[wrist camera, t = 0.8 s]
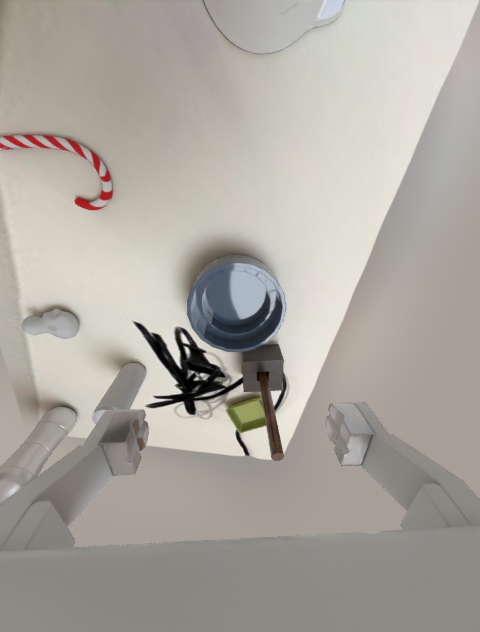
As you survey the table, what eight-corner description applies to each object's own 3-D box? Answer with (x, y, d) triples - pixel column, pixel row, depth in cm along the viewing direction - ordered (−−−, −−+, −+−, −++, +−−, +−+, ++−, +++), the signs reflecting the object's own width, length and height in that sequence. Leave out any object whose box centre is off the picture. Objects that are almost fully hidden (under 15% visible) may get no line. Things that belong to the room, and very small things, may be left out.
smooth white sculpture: (85, 310, 42) (83, 336, 42) (37, 303, 41) (36, 331, 41) (70, 313, 37) (69, 343, 38) (17, 306, 36) (16, 337, 37)
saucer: (261, 391, 51) (262, 398, 49) (272, 416, 55) (274, 423, 53) (225, 402, 52) (225, 410, 50) (239, 426, 56) (239, 433, 54)
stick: (258, 355, 46) (275, 452, 28) (265, 358, 47) (286, 454, 29) (254, 361, 47) (269, 459, 29) (261, 364, 47) (280, 462, 29)
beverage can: (144, 381, 48) (119, 432, 38) (121, 375, 47) (89, 425, 37) (149, 365, 46) (125, 413, 36) (125, 358, 45) (93, 406, 35)
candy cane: (-21, 109, 27) (111, 154, 29) (-10, 112, 28) (115, 156, 31) (-9, 181, 30) (108, 216, 33) (0, 182, 31) (112, 216, 34)
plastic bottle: (43, 408, 51) (-59, 520, 33) (66, 398, 50) (-27, 508, 32) (65, 425, 54) (-18, 537, 36) (87, 416, 52) (12, 526, 35)
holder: (241, 345, 45) (242, 361, 41) (278, 344, 45) (283, 359, 41) (242, 374, 48) (243, 392, 44) (277, 373, 49) (281, 390, 44)
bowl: (210, 238, 36) (206, 245, 30) (293, 274, 39) (303, 286, 34) (182, 317, 42) (175, 334, 36) (256, 343, 45) (259, 362, 40)
